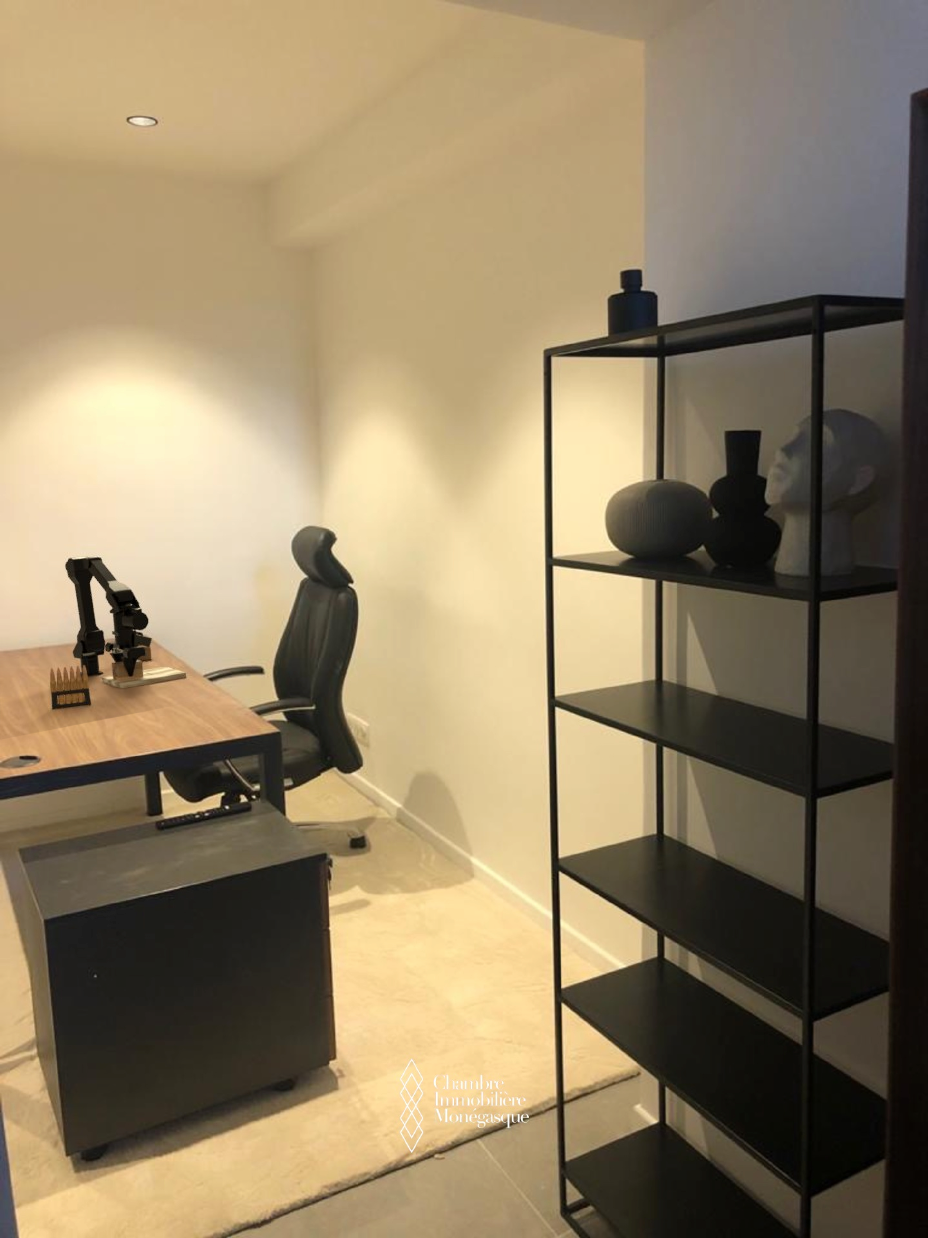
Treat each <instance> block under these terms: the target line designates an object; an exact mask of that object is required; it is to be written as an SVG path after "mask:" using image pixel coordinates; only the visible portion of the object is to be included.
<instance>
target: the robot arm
mask: <svg viewBox="0 0 928 1238" xmlns="http://www.w3.org/2000/svg"><path fill="white" fill-rule="evenodd" d="M64 567H65V571H66V573H67V577H68V578H69V580H70V581H71V583H73V585H74V591H75V595H76V596H75V597H76V603H77V610H78V611H77V612H78V618H79V623H80V627H79V630H78V633H77V635H76V643H75V646H74V648H73V650H72V655H73V658H74V659H78V660H79V659H80V660H79V661H80V673H81V677H83V665H85V667H86V671H87V677H91V676H98V675H102V674H104V671H101V670H100V663H99V662H100V661H99V656H103V655H104V656H105V652H107V653H109V655H110V656H111V658H112V659H113V661H114V663H115V662H121V661H123V664H124V666H125V668H126V671H127V673H128V675H129V677H132V676H133V673H134V668H135V664H136V661H137V659H138V658H139V657H141V656H145V655H146V649H145V648H144V647H141V646H138V644H139V645H142V646H146V647H150V648H151V645H152V644H151V643H152V640H153V637H150V636H144V633H143V632H140V631H144V630H145V629H146V628H147V627H148V625H149V618H148V615H147V614H146V613H145V612H143V611H142V610H143V609H142V608H141V605H140V602H139V601H138V599H137V598H136V595H135V593H134V591H133V590H132V589H131V588H129V586H127V584H126V583H122V582H120V581H118V579H117V578H116V577H115V576H114V575H113V573H112V572H111V570H109V568H108V567H107V566H106V565H105V563H104V562H103V559H102V557H101V556H98V555H93V556H87V555H86V556H77V557H69V558H68V559H67V561H66V562H65V565H64ZM93 578H94V579H95V580H96V581H97V583H99V585H100V587H102V589H103V590H104V592H105V600H106V602H107V603H108V605H109V606H110V607H111V609H109V614H112V617H113V619H112V621H113V629H114V630H113V631H111V633H112V635H114V641H108V642H106V640H105V634H104V631H103V630H102V629H100V628H99V627H98V626H97V623H96V621H97V620H96V616H95V614H96V613H95V607H94V600H93V594H92V587H91V582H92V580H93ZM133 629H134V630H133ZM135 630H136V631H135Z"/></svg>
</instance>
